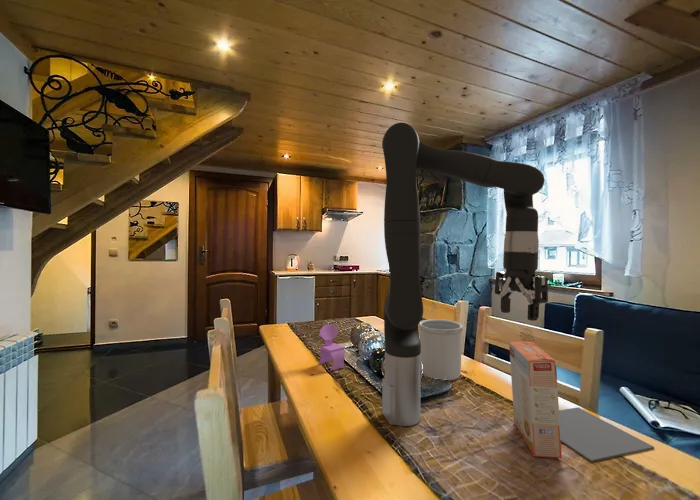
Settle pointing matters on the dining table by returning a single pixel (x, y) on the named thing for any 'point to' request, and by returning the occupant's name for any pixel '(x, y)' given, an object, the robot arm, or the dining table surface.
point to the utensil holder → (441, 348)
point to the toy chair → (331, 348)
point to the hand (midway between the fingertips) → (518, 316)
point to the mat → (596, 436)
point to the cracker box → (535, 398)
